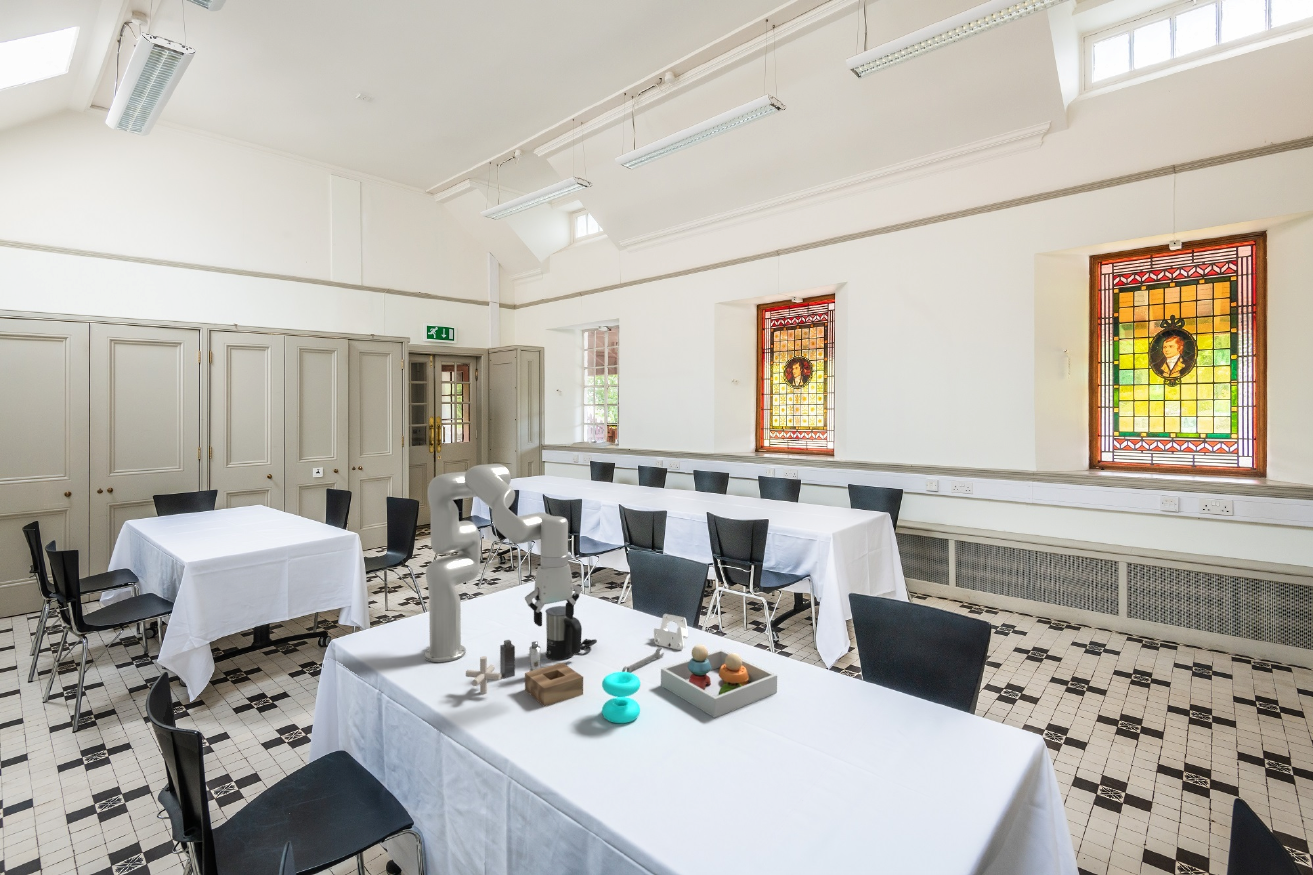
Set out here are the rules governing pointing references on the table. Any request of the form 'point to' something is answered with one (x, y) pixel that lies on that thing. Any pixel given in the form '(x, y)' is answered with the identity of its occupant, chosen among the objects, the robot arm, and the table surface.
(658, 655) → the combination wrench
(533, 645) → the round bit
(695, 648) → the stacking toy figures
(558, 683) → the socket block
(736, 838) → the table surface
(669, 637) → the mounting bracket
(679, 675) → the parts tray
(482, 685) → the pipe connector
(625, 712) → the donuts
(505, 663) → the square bit
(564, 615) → the milk frother
